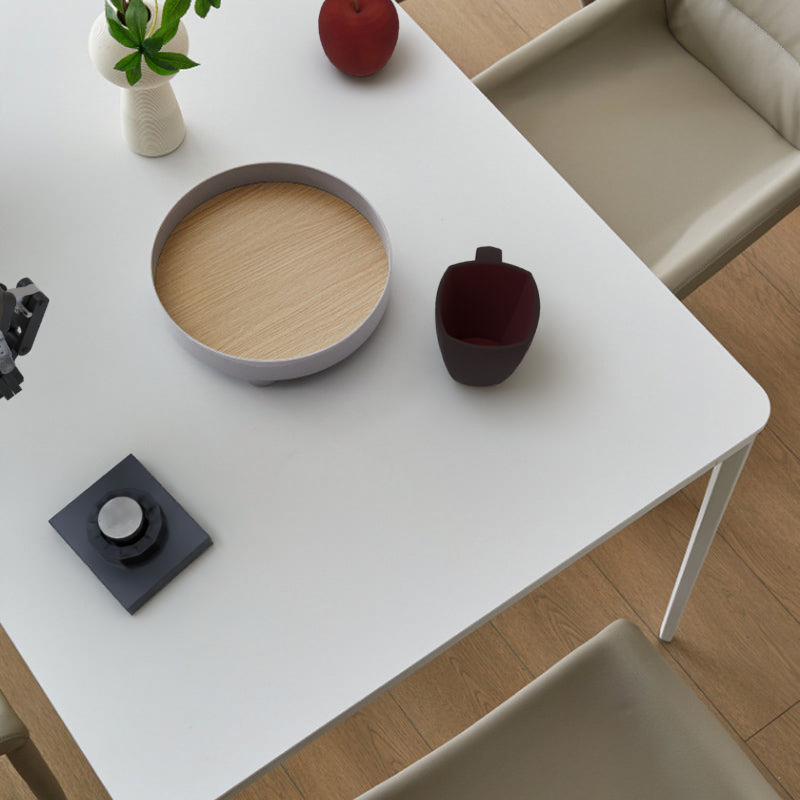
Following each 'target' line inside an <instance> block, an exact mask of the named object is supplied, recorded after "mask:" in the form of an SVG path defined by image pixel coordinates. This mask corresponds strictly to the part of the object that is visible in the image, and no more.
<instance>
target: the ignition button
mask: <svg viewBox="0 0 800 800" xmlns="http://www.w3.org/2000/svg"><path fill="white" fill-rule="evenodd" d="M98 523H99V527H100V529H101V530H102V532H103V533H104V534H105V535H106V537H107V538H108V539H109V540H110V541H112V542H113V543H116V544H120V545H125V544H130V543H132V542H134V541H136V540H137V539H139V538H140V537H141V536H142V534H143V533H144V531H145V529H146V525H147V519H146V515H145V513H144V512H143V510H142V509H141V507H140V506H139V504H138V503H137V502H136V501H135V500H133V499H131V498H128V497H117V498H114V499H112V500H110V501H108V502H107V503H106V504H105V505H104V506H103V507H102V509H101V511H100V513H99V517H98Z"/></svg>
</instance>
